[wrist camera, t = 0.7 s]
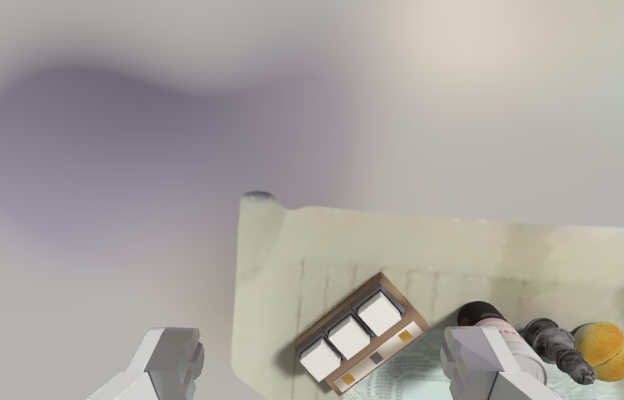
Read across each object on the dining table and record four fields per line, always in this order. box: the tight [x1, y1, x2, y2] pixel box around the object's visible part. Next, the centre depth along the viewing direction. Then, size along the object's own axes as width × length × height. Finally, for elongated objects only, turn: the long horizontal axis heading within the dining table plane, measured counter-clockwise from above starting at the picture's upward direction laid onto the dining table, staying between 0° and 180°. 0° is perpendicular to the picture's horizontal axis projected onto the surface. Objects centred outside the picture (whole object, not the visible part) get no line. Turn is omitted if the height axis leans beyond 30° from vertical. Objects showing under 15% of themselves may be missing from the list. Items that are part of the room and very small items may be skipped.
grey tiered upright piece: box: [524, 318, 596, 385], centre depth 49 cm, size 6×6×12 cm
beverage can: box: [458, 301, 549, 387], centre depth 48 cm, size 7×6×15 cm
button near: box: [358, 291, 401, 337], centre depth 52 cm, size 4×4×2 cm
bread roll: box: [573, 323, 624, 382], centre depth 52 cm, size 8×9×4 cm
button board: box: [295, 272, 429, 396], centre depth 56 cm, size 11×19×5 cm, turn 132°
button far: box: [300, 336, 341, 382], centre depth 54 cm, size 4×4×2 cm
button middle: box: [328, 314, 370, 360], centre depth 53 cm, size 4×4×2 cm
